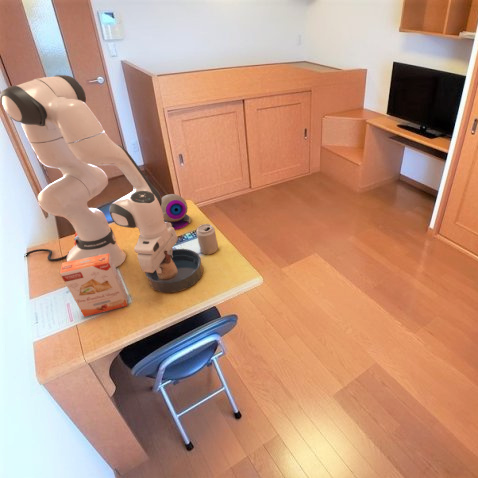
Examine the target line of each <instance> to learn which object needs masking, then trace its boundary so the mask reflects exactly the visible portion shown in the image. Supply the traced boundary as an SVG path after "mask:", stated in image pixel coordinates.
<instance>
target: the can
mask: <svg viewBox="0 0 478 478" xmlns="http://www.w3.org/2000/svg"><path fill="white" fill-rule="evenodd" d="M195 233H196V237H197V241H198V246H199V250H200V252H201V253H202V254H205V255H212V254H215V253H216V252H217V251H218V250H219V243H218V240H217V239H218V238H217V234H216V229H215V228H214V227H213V225H212V224H210V223H202V224H200V225H199V226H198V227H197V228H196V231H195Z"/></svg>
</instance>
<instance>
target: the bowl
mask: <svg viewBox="0 0 478 478" xmlns="http://www.w3.org/2000/svg"><path fill="white" fill-rule="evenodd" d="M172 256H173V258H172V260H173V262H174V263H175V265H176V267H177V270H178V273H177V275H176V276H175V277H174V278H172V279H170V280H161V279H159V278H158V275H157V272H156V270H155V271H154V272H153V273H148V272H144V273H145V276H146V279H147V281H148V284H149V286H150V288H152V289H153V290H154V291H157V292H160V293H167V294H168V293H178V292H180V291H181V292H182V291H183V290H187V289H188V288H190V287H193V285H195V284H196V283H197V282H198V281H200V279H201V278H202V276H203V273H204V267H203V263H202V258H201V256H200V254H199V253H197V252H196V251H194V250H192V249H187V248H175V249H174V248H173V251H172Z"/></svg>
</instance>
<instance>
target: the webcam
mask: <svg viewBox="0 0 478 478" xmlns="http://www.w3.org/2000/svg"><path fill="white" fill-rule="evenodd" d="M161 198H162V204H161V209H162V212H163V220H164V222H165V223H166V222H170V223H171V225H172V227H173V228H174V230H175V231H176V230H180V229H183V228H185V227H187V226H188V225H189V224H191V221H192V219H191V217H190V216H189V214H187V213H188V204H187V201H186V200H185V198H183V196H180V195H178V194H174V193H170V194H166V195H163V196H161Z"/></svg>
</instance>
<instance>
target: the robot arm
mask: <svg viewBox="0 0 478 478" xmlns="http://www.w3.org/2000/svg"><path fill="white" fill-rule="evenodd" d="M86 102H87V95H86V92H85V89H84V87H83V86H82V85H81V83H80V82H79V81H77V79H76V78H74V77H72V76H71V75H65V74H56V75H54V76H46V77H45V76H44V77H39V78H34V79H32V80H29V81H26V82H23V83H20V84H17V85H11V86H8V87H6V88H5V89H3V90H2V91H1V92H0V103H1V106H2V108H3V110H4V112H5V113H6V114H7V115H8V116H9V118H10V119H12V120H13V121H15V122H17V123H19V124H21V127H22V130H23V132H24V133H25V136H26V139H27V140H28V142H29V144H30V146H31V148H32V149H33V151H34V153H35V155H36V157H37V159H38V160H39V162H40V163H41V164H42V165H44V166H45V167H47V168H51V169H58V170H59V171H60V172H61V174H62V177H60V178H59V179H57V180H55V181H53V182H52V183H49V184H48V185H47V186H46V187H45V188H43V190H41V191H40V192H39V193H38V194H37V202H38V204H39V206H40V208H41V209H42V210H43V211H44V212H46V213H47V214H49V215H52V216H55V217H61V218H64V219H66V220H67V221H68V222H69V223H70V224H71V226H72V227H73V229H74V232H75V233H74V238H73V241H74V242H73V245H74V246H73V247H72V248H70V250H69V251H67V254H66V255H63V256H61V257H57V258H52V255H53V250H52V249H48V248H37V249H33V250H29V251H28V252H26V253H25V254H27V255H26V257H28V256H29V255H30V254H33V253H39V252H47V253H48V255H47V260H48V261H50V262H57V261H61V260H65V259H66V262H69V261H74V260H79V259H84V258H88V257H93V256H98V255H103V254H108V253H110V255H111V258H112V260H113V262H114V265H115V267H116V268H118V267H119V266H121V265H122V264H123V263H124V262H125V260H126V258H127V255H126V253H125V252H124V250H123V249H122V248H121V247H120V245H119V244H118V242H117V238H116V235H115V232H114V230H113V228H112V227H111V226H110V225H109V222H108V220H107V217H106V215H105V213H104V212H103V211H102V210H100V209H98V208H95V207H89V206H88V202H89V201H91V200H92V199H94V198H95V197H96V196H98V195H100V194H101V193H102V192H103V191H104V190H105V188H106V187H107V186H108V185H109V178H108V176H107V174H106V172H105V171H104V170H103V169H102V168H101V167H98V166H114V167H116V168H117V169H119V170H120V171H121V172H122V174H123V175H124V177H125V178H126V180H127V181H128V182H129V183H130V184H131V186H132V188H133V190H132V191H131V192H129V193H128V194H125V195H124V196H122V197H120V198H119V199H117V200H115V201H113V202H112V203H111V204H110V205H109V209H108V210H109V216H110V218H111V220H112V221H113V223H114V224H116V226H119V227H122V228H129V229H138V231H139V235H138V239H137V241H136V243H135V246H134V248H133V249H134V252H135V253H136V254H137V261H138V264H139V266H140V268H141V271H142V272H144V273H145V272H148V273H153V272H154V271H155V270H156V272H157V273H162V271H163V268H162V267H159V266H160V263H161V262H162V261H163V259H164V258H165V254H164V251H167V254H168V255H169V256H170V257H171V259H172V258H173V256H172V251H173V250H174V248H173V247H174V246H176V244H177V242H178V240H179V239H178V234H177V232H176V229H175V230H174V228H173V227H172V225H171V223H170V222H166V223H165V222H164V220H163V212H162V209H161V204H162V195H161V193H160V192H159V190H158V189H157V188H156V187H155V186H154V185H153V184H152V183H151V182H150V180H149V179H148V178H147V177H146V175H145V173H144V172H143V171H142V169H141V168H140V167H139V165H138V164H137V162H136V161H135V160H134V158H133V157H132V155H130V153H129V151H127V149H126V148H124V147H123V146H122V145H120V144H117V143H115V141H113V140H112V139H111V138H110V137H109V136H108V134H107V133H106V132H105V129H104V128H103V126H102V124H101V122H100V121H99V120H98V118H97V117H96V114H94V112H93V111H92V110H91V108H90V107H89V106H88V104H87V103H86Z"/></svg>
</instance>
